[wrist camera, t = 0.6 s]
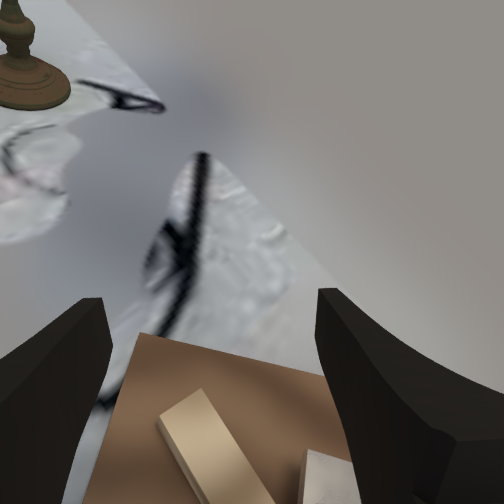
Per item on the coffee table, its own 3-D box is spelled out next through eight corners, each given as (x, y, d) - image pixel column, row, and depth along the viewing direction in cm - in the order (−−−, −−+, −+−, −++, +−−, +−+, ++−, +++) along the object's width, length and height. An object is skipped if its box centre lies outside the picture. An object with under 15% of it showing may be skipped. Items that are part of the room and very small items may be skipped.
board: (381, 737, 19) (393, 745, 19) (14, 710, 17) (10, 718, 16) (357, 389, 31) (364, 385, 30) (138, 337, 28) (139, 332, 27)
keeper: (364, 537, 24) (398, 536, 21) (279, 513, 23) (302, 508, 20) (364, 483, 26) (395, 475, 23) (285, 459, 25) (307, 448, 22)
